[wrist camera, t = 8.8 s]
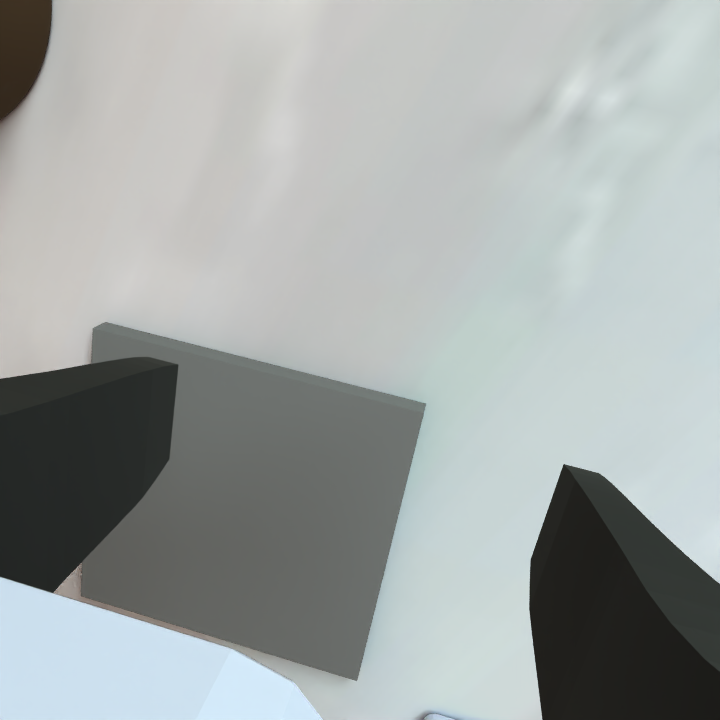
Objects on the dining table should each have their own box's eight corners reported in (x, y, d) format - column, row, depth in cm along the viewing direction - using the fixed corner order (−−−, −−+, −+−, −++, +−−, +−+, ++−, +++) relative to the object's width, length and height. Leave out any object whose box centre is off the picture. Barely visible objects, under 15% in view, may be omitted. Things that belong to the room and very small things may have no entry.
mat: (360, 665, 27) (356, 680, 26) (91, 583, 28) (80, 596, 27) (425, 403, 22) (424, 412, 22) (105, 322, 24) (92, 328, 23)
